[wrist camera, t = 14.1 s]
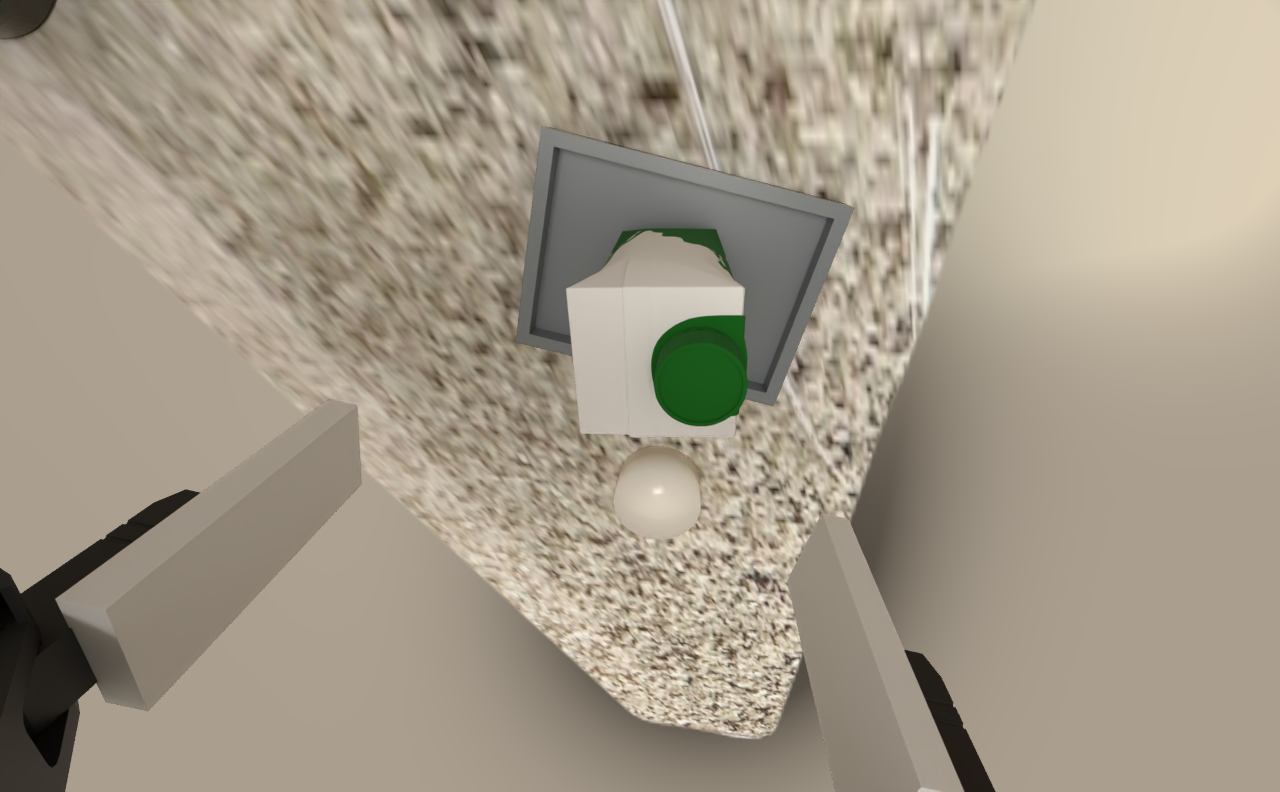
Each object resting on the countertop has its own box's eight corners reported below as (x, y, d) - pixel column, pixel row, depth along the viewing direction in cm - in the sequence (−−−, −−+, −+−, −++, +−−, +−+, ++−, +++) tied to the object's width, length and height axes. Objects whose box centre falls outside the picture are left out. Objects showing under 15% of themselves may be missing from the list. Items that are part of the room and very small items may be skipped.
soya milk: (724, 329, 41) (750, 473, 23) (614, 328, 41) (557, 468, 24) (729, 215, 37) (766, 283, 19) (608, 217, 38) (533, 285, 20)
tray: (524, 331, 43) (515, 342, 41) (550, 127, 36) (541, 126, 34) (769, 392, 44) (773, 406, 42) (844, 203, 36) (854, 207, 34)
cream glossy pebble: (611, 501, 51) (605, 527, 47) (628, 436, 47) (623, 460, 44) (687, 519, 51) (687, 547, 48) (709, 456, 47) (711, 482, 44)
